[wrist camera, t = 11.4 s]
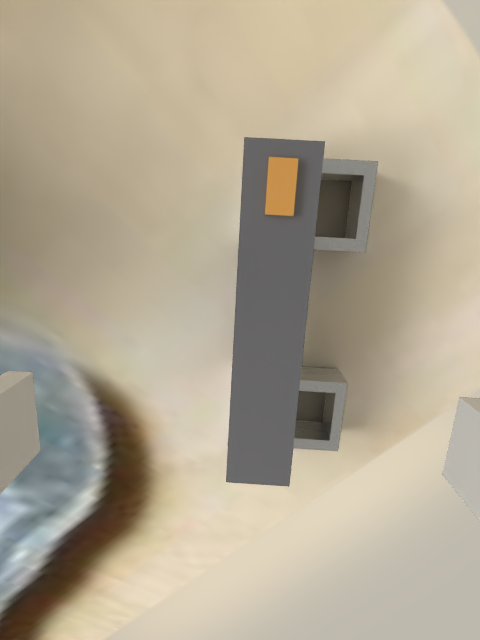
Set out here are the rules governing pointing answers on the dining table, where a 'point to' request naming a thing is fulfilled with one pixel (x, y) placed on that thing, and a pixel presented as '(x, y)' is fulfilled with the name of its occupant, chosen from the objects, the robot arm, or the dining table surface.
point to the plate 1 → (330, 428)
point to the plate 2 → (351, 203)
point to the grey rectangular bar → (271, 304)
